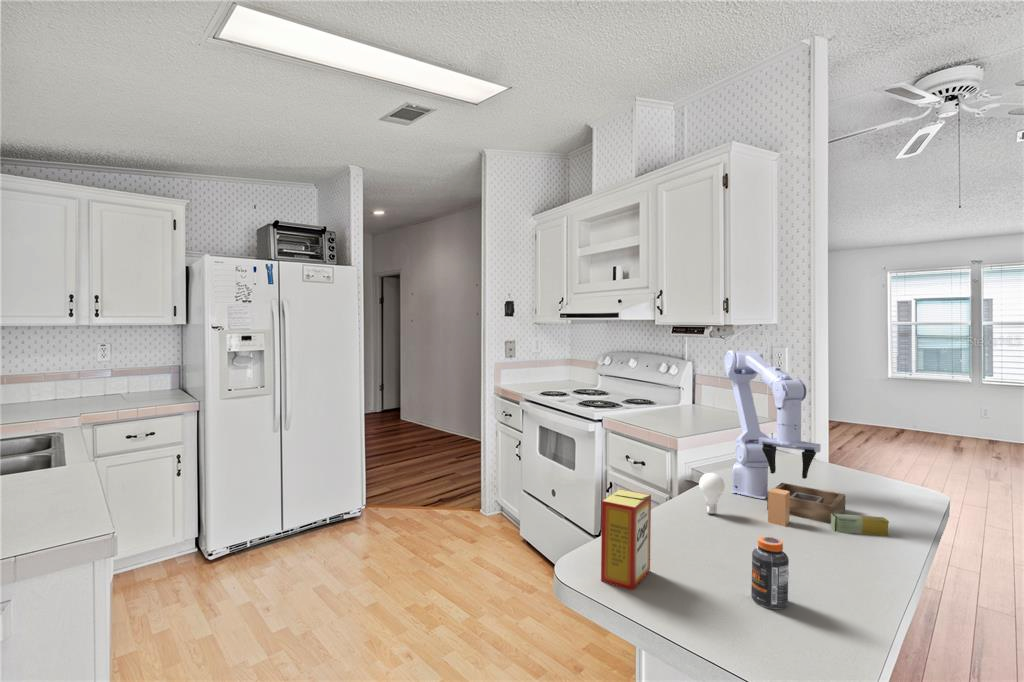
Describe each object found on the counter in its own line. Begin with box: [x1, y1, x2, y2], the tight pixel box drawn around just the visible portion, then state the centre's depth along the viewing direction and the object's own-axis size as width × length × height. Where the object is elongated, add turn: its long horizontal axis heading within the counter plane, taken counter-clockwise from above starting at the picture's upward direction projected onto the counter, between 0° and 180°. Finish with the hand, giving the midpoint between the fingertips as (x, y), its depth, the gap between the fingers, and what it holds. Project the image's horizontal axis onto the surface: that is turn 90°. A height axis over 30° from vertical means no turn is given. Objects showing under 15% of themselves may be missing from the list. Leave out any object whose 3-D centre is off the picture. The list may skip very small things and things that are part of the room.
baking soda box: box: [600, 488, 652, 591], centre depth 103 cm, size 10×6×16 cm
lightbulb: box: [698, 472, 726, 515], centre depth 139 cm, size 6×6×11 cm
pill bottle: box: [750, 535, 790, 610], centre depth 94 cm, size 6×6×11 cm
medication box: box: [829, 513, 890, 536], centre depth 127 cm, size 12×3×4 cm, turn 79°
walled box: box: [766, 482, 846, 525], centre depth 142 cm, size 16×14×4 cm
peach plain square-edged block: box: [767, 487, 790, 527], centre depth 133 cm, size 4×4×8 cm
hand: (788, 475), depth 139 cm, fingers open, 7 cm apart
